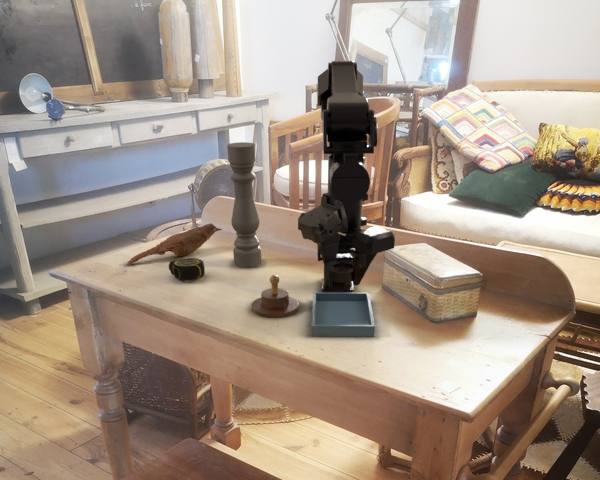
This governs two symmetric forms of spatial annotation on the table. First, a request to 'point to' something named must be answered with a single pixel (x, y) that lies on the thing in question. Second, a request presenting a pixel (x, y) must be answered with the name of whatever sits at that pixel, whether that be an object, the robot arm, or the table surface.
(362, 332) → the tray
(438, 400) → the table surface
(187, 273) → the tape measure
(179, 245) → the bird sculpture
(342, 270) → the ring
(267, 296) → the wooden peg stand
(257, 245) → the candle holder
